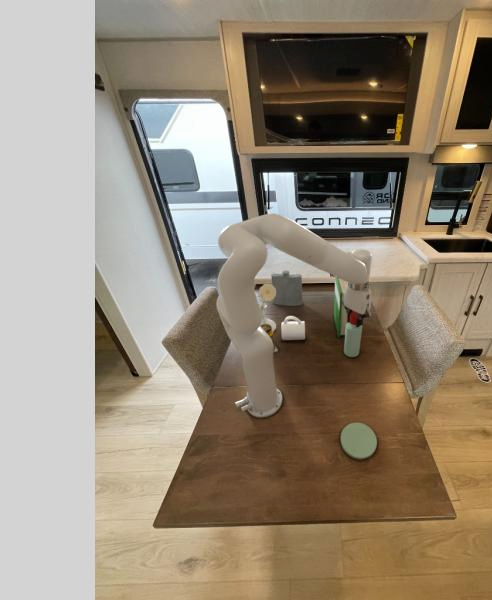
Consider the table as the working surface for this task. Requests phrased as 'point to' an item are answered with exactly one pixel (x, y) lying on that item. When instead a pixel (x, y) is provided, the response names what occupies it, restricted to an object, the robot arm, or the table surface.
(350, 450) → the coaster
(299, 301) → the hip flask
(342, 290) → the hardback book
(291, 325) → the mug
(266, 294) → the flower in vase
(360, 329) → the bottle
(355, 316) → the cap
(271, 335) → the condiment
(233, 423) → the table surface
